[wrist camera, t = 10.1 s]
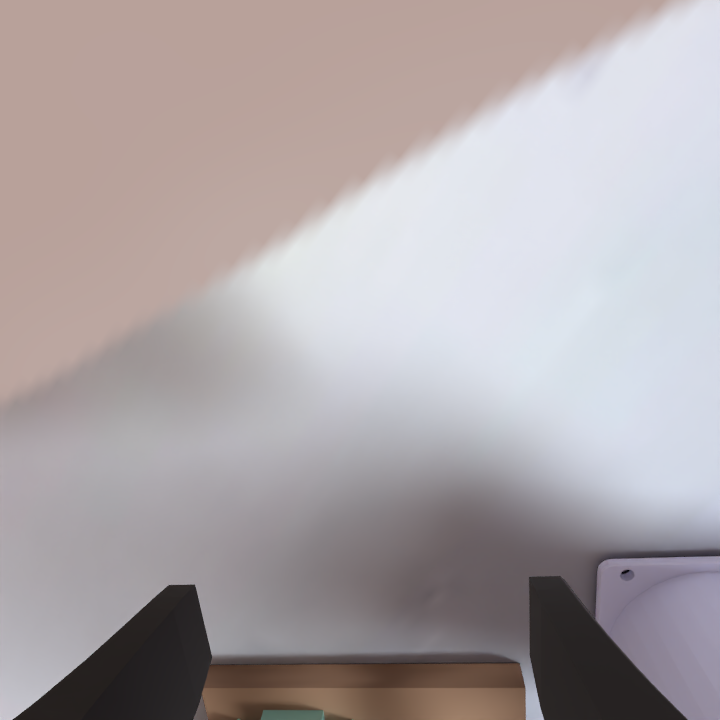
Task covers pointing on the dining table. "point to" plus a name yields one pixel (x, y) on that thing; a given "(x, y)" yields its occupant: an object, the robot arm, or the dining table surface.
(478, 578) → the dining table surface
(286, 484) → the dining table surface
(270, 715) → the teal gear
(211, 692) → the gear board
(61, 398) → the dining table surface
